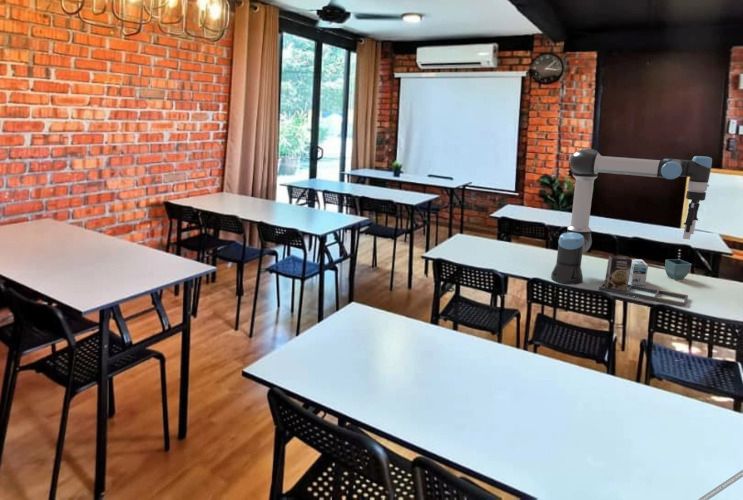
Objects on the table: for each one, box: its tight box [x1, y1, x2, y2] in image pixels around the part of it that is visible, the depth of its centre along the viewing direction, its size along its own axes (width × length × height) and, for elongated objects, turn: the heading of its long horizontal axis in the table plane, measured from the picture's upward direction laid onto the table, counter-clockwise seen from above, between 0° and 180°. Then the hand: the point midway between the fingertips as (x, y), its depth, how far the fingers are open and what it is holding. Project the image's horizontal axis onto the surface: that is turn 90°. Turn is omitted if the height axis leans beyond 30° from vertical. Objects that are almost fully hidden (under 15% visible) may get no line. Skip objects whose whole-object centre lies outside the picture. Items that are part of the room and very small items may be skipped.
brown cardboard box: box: [604, 255, 633, 291], centre depth 254 cm, size 9×6×16 cm
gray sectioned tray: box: [598, 280, 689, 308], centre depth 249 cm, size 36×13×2 cm, turn 56°
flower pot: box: [664, 259, 692, 280], centre depth 274 cm, size 9×9×9 cm
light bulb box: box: [628, 258, 649, 286], centre depth 267 cm, size 11×7×11 cm, turn 168°
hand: (688, 236), depth 246 cm, fingers open, 13 cm apart
